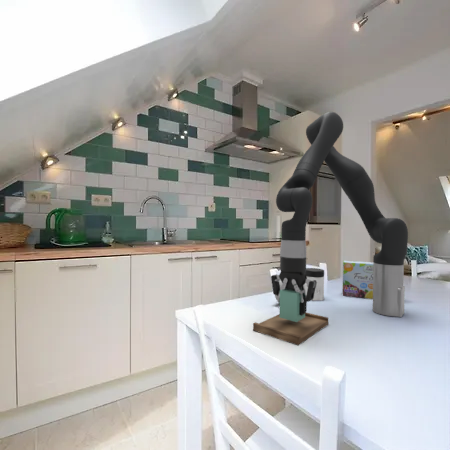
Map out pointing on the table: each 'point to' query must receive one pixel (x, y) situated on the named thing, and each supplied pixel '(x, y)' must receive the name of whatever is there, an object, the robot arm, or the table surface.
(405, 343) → the table surface
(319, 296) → the jar
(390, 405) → the table surface
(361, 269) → the snack box
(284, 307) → the block
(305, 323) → the board
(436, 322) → the table surface
